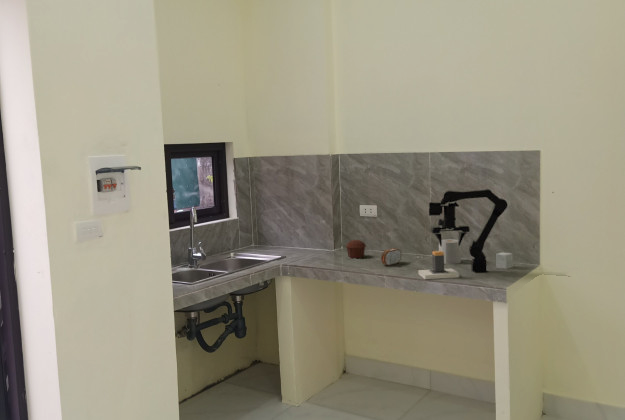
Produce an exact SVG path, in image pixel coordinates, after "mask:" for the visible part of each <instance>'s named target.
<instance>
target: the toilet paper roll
mask: <svg viewBox="0 0 625 420" xmlns="http://www.w3.org/2000/svg"><path fill="white" fill-rule="evenodd" d="M441 240H442V247H441V246H440V244H439V243H438V251H442V252H444V265H457V264H461V263H462V243H461V244H460V246H458V239H456V238H455V239H454V238H453V239H452V238H451V239H450V238H449V239H448V238H447V239H446V238H445V239H441Z"/></svg>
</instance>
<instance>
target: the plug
mask: <svg viewBox="0 0 625 420" xmlns="http://www.w3.org/2000/svg"><path fill="white" fill-rule="evenodd" d="M444 269H445V264H444V252H442V251H439V250H433V251H432V270H433V272H434V273H440V272H444Z"/></svg>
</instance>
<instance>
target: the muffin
mask: <svg viewBox="0 0 625 420" xmlns="http://www.w3.org/2000/svg"><path fill="white" fill-rule="evenodd" d="M345 246H346V251H347V257H348V258H349V257H350V258H349V259H354V258H356V259H363V258H364V256H365V250H366V247H367V245H366V243H365V242H364V241H362V240H361V239H352V240H350V241H348V242H347V244H346V245H345ZM362 257H363V258H362Z"/></svg>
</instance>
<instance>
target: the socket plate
mask: <svg viewBox="0 0 625 420" xmlns="http://www.w3.org/2000/svg"><path fill="white" fill-rule="evenodd" d="M418 275H419V276H420V277H422V278H423V279H424V280H434V279H435V280H436V279H437V280H439V279H454V278H460V272H458V271H457V270H455V269H453V268H444V272H440V273H434V272H433V269H419V270H418Z"/></svg>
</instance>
